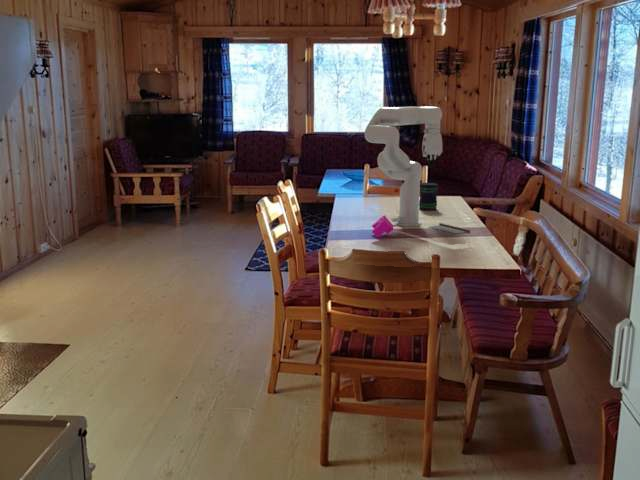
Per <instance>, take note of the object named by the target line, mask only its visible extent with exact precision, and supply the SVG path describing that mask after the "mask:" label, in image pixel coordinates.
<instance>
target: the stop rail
mask: <svg viewBox="0 0 640 480" xmlns="http://www.w3.org/2000/svg"><path fill="white" fill-rule="evenodd" d="M439 225H440V226H444V227H448V228H453V229H457V230H461V231H465V232H466V233H468V234H470V233H471V229H468V228H463V227H460V226H454V225H451V224H446V223H443V222H439V224H438V226H439Z"/></svg>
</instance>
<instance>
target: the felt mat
mask: <svg viewBox="0 0 640 480" xmlns="http://www.w3.org/2000/svg"><path fill="white" fill-rule="evenodd" d="M428 228H429V229H433V230H439V231H442V232H445V233H449V234H450V233H451V234H454V235H457V234H464V233H467V232H465V231H461V230H457V229H453V228H448V227H444V226H440V225H439V224H438V225H433V226H429V227H428Z"/></svg>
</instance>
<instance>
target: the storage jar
mask: <svg viewBox="0 0 640 480" xmlns="http://www.w3.org/2000/svg"><path fill="white" fill-rule="evenodd" d="M438 186H439V185H438V183H435V182H420V189H419V210H421V211H425V212H426V211H427V212H435V211H437V206H438V204H437V203H438V200H437V199H438V198H437V196H438Z"/></svg>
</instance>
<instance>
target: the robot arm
mask: <svg viewBox="0 0 640 480" xmlns="http://www.w3.org/2000/svg"><path fill="white" fill-rule="evenodd" d="M442 117H443V112H442V110H441V107H438V106H397V107H396V106H393V107H392V106H391V107H389V106H383V107H380V108H378V110H376V111H375V113H374V115H372V117H371V119H370V121H369V122H368V123H367V125H366V127H365V130H364V139H365V141H367V142H368V143H371V144H384V145H385V147H384V148H383V151H381V152H379V154H378V156H377V166H378V167H379V169H380V170H381V171H382V172H383V173H384V174H385V175H387V177H389V178H391V179H392V180H401V181H404V182H403V183H402V185H401V186H400V189H399V210H398V212H399V214H398V215H397V217H392V218H390V219H391V223H395V224H396V225H397V226H398V225H399V226H403V227H416V226H421V225H422V222H421V221H420V220H419V212H420V211H419V210H420V209H419V200H420V183H421V180H422V175H423V167H422V165H421V163H419V162H418V161H413V160H411V159H410V157H409V155H408V154H407V153H405V152H404V151H403V150H402V149H401V148H400V132H399V129H398V128H397V127H396V126H398V127H399V126H409V125H423V124H425V125H424V129H423V133H424V135H423V138H422V144H421V145H422V146H421V147H422V148H421V153H422V157H423V158H426V159H427V160H426V161H427V167H428V168H430V169H434V168H435V163H436V159H437V158H438V157H439V156H441V154H442V153H443V139H442V134H441V120H442Z"/></svg>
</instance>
